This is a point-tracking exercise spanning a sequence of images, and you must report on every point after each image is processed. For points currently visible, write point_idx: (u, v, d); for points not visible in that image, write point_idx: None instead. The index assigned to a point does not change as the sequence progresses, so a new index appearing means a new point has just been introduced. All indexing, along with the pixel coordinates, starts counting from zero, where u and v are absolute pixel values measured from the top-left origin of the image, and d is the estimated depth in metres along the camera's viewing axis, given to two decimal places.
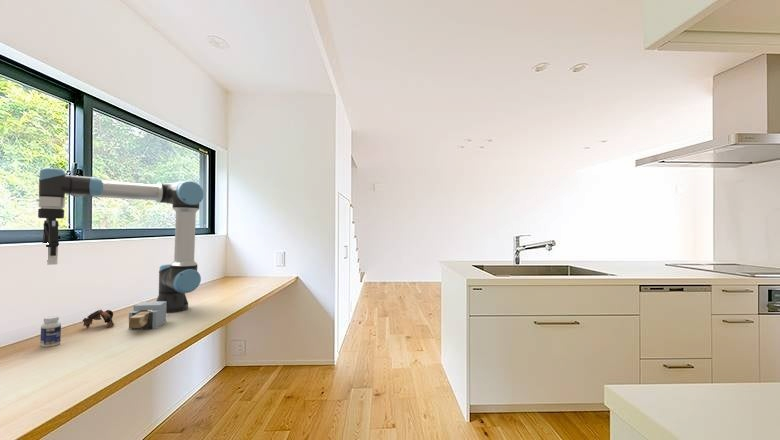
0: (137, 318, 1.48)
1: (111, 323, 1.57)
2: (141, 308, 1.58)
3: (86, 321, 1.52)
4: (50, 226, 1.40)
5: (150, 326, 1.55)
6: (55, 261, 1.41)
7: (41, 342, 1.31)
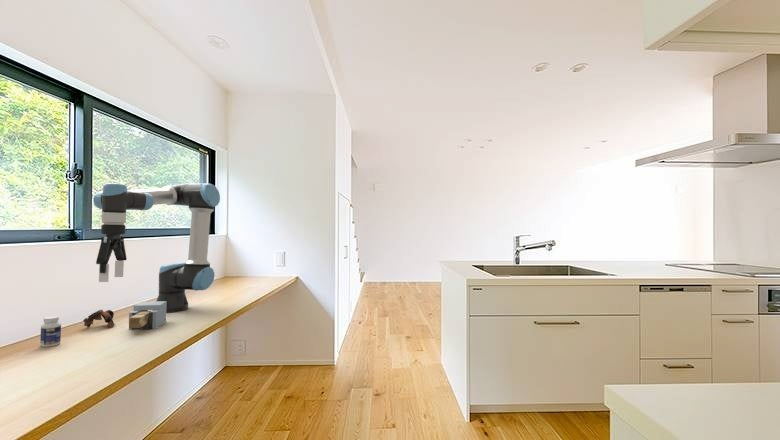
0: (137, 318, 1.48)
1: (112, 323, 1.57)
2: (141, 308, 1.58)
3: (87, 321, 1.52)
4: (101, 242, 1.36)
5: (150, 326, 1.55)
6: (105, 279, 1.37)
7: (41, 342, 1.31)
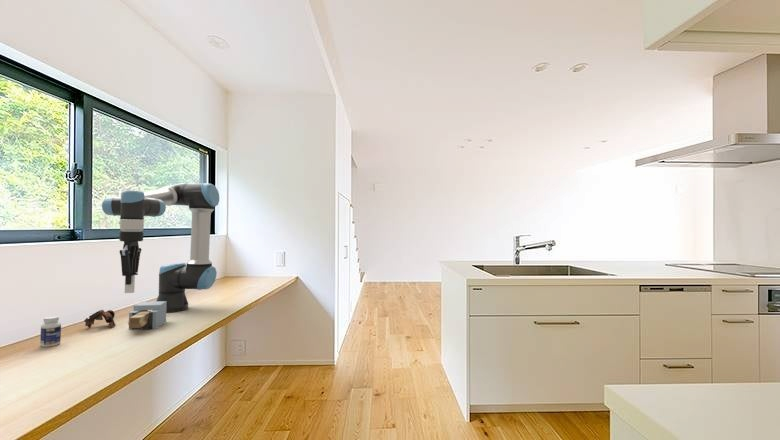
0: (137, 318, 1.48)
1: (113, 323, 1.57)
2: (141, 308, 1.58)
3: (88, 321, 1.52)
4: (121, 256, 1.38)
5: (150, 326, 1.55)
6: (131, 290, 1.42)
7: (41, 342, 1.31)
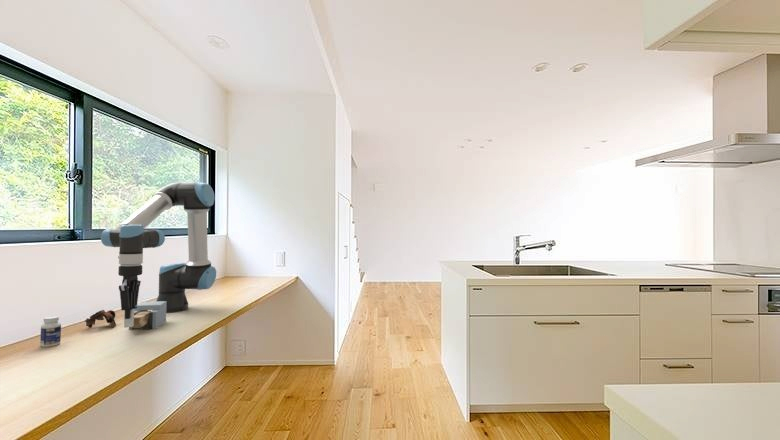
0: (137, 318, 1.48)
1: (114, 323, 1.57)
2: (141, 308, 1.58)
3: (89, 321, 1.52)
4: (120, 291, 1.38)
5: (150, 326, 1.55)
6: (130, 324, 1.42)
7: (41, 342, 1.31)
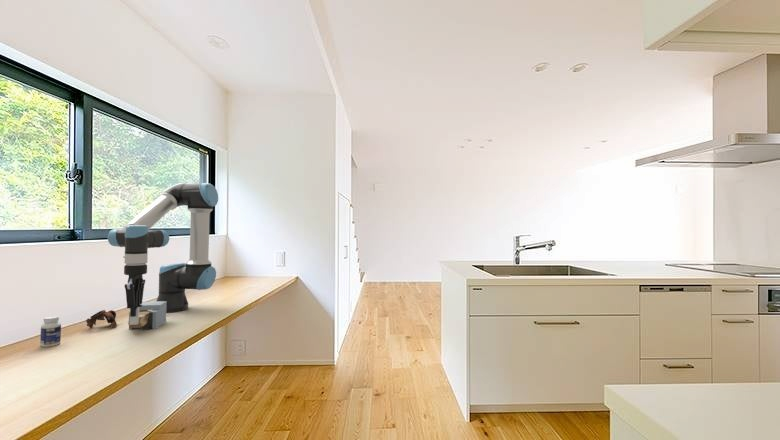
0: None
1: (114, 323, 1.57)
2: (141, 308, 1.58)
3: (90, 321, 1.51)
4: (126, 290, 1.42)
5: (150, 326, 1.55)
6: (135, 321, 1.47)
7: (41, 342, 1.31)
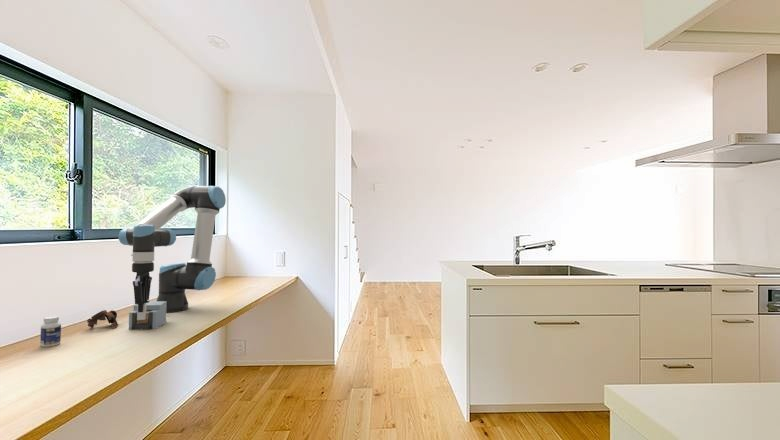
0: None
1: (116, 323, 1.57)
2: None
3: (91, 322, 1.51)
4: (134, 286, 1.49)
5: (150, 326, 1.55)
6: (143, 317, 1.53)
7: (41, 342, 1.31)
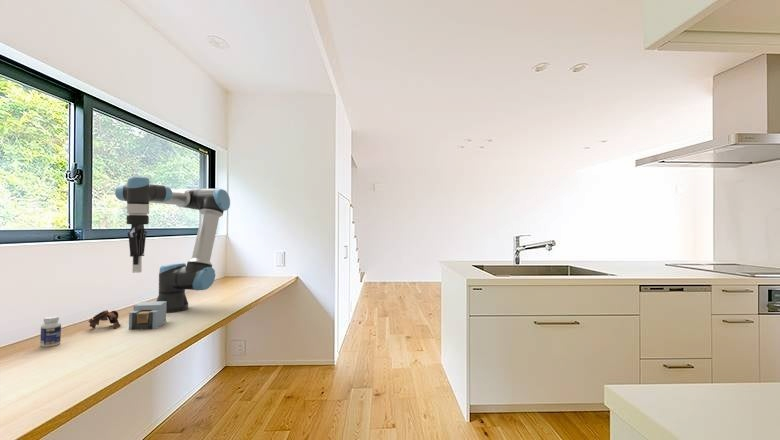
0: (145, 314, 1.55)
1: (117, 324, 1.57)
2: (141, 308, 1.58)
3: (93, 322, 1.51)
4: (129, 238, 1.48)
5: (150, 326, 1.55)
6: (138, 269, 1.52)
7: (41, 342, 1.31)
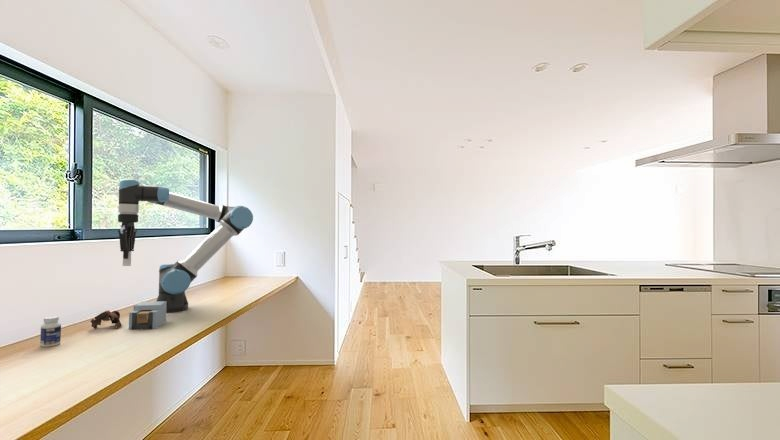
0: (145, 314, 1.55)
1: (119, 324, 1.56)
2: (141, 308, 1.58)
3: (94, 322, 1.51)
4: (119, 234, 1.64)
5: (150, 326, 1.55)
6: (128, 263, 1.69)
7: (41, 342, 1.31)
